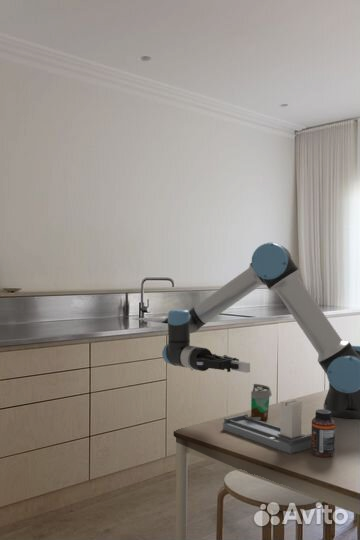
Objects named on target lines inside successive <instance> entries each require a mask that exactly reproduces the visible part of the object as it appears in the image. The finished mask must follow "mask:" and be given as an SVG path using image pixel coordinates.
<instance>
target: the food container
mask: <svg viewBox="0 0 360 540" xmlns="http://www.w3.org/2000/svg"><path fill="white" fill-rule="evenodd" d="M250 394H251V395H250V399H251V400H250V401H251V402H250V403H251V404H250V405H251V407H250V410H251V411H250V412H251V413H250V418H252V419H256V420H259V421H262V422H267V421H268V418H269V409H270V408H269V406H270V397H272V395H273V394H272V391H271V388H270V387H269V386H268V385H264V384H260V383H253V388H252V391H251V392H250Z"/></svg>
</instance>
